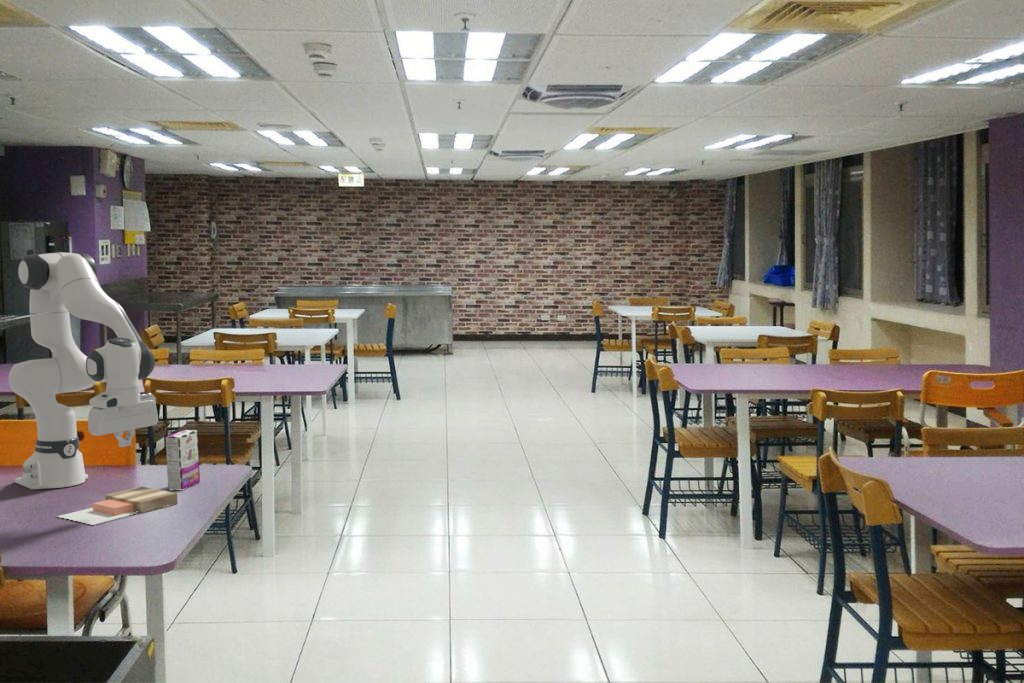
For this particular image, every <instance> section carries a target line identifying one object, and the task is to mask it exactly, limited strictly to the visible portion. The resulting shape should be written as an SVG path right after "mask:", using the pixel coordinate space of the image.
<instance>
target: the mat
mask: <svg viewBox="0 0 1024 683" xmlns="http://www.w3.org/2000/svg"><path fill="white" fill-rule="evenodd" d="M137 513H138V512H134V511H131V512H127V513H123V514H119V515H116V516H115V515H110V514H106V513H101V512H97V511H93V507H89V508H86V509H81V510H77V511H74V512H69V513H66V514H65V513H64V514H61V515H57V516H56V518H57V517H59V518H58V519H61V518H64V519H63V520H66V519H69V520H68V521H70V520H73V521H72V522H74V521H78V522H81V523H80V524H82V523H86V524H85V525H87V524H90V525H89V526H91V525H94V526H97V525H96V524H98V525H101V524H100V523H102V524H105V523H104V522H106V523H109V522H108V521H110V522H112V521H111V520H113V521H116V520H115V519H117V520H119V519H118V518H121V517H125V516H129V515H133V514H136V515H138V514H137ZM133 516H134V515H133ZM129 517H130V516H129ZM125 518H126V517H125ZM121 519H122V518H121ZM78 522H77V523H78Z"/></svg>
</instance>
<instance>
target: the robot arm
mask: <svg viewBox="0 0 1024 683" xmlns="http://www.w3.org/2000/svg"><path fill="white" fill-rule="evenodd" d="M17 271H18V272H17V274H18V279H19V281H20V284H21V285H22V286H23V287H24V288H26V289H28V290H30V291H29V303H28V304H29V308H28V309H29V319H30V320H29V322H30V334H31V338H32V340H33V341H34V342H35V343H36V344H38V345H39V346H42V347H44V348H47V349H49V350H50V352H51V354H52V357H49V358H40V359H29V360H25V361H22V362H18V363H14V364H13V366H12V367H11V368H10V371H9V373H8V384H9V387H10V388H11V390H12V391H13V393H15V394H16V395H18V396H19V397H21V398H22V399H23V400H25V401H26V402H27V403H28V405H29V406H30V408H31V409H32V412H33V413H34V416H35V420H36V428H37V429H36V430H37V440H33V442H34V443H33V445H35V448H34V452H33V453H32V455H30V456H29V458H27V459H26V460H25V461H24V463H23V465H22V468H21V469H22V476H20V477H17V478H15V479H14V483H16V484H18V485H20V486H22V487H25V488H27V489H29V490H42V489H43V490H44V489H59V488H68V487H74V486H77V485H78V486H79V485H81V484H82V483H85V481H86V480H87V479H89V474H87V473H86V471H85V465H84V458H83V453H82V452H81V451H80V450H79V448H80V440H79V436H78V431H77V415H76V413H75V410H74V409H72V408H71V407H70V406H68V405H65V404H62V403H59V402H58V401H57V399H56V395H57V394H64V393H73V392H74V393H75V392H80V391H83V390H87V389H90V388H92V387H94V386H95V384H96V383H106V386H105V390H104V391H103V392H101V393H99V394H97V395H96V396H94V397H92V398H90V399H89V401H88V402H89V406H90V407H91V408H89V411H88V416H87V418H88V419H87V423H88V424H87V428H88V429H87V430H88V432H89V433H90V434H91V435H92V436H96V437H98V436H106V435H110V434H113V435H114V437H115V438H116V440H117V441H118V447H119V448H125V447H129V446H132V439H133V438H134V435H135V433H136V432H135V430H136V429H142V428H148V427H151V426H152V427H153V426H156V425H157V424H158V422H159V414H158V409H157V405H156V404H157V399H156V396H155V395H154V394H152V393H151V392H149V393H148V392H147V393H142V394H141V385H140V381H143V380H146V379H147V378H148V377H149V376H150V375H151V374H152V372H153V371H154V369H155V366H156V365H155V364H156V361H155V357H154V354H153V352H152V350H151V349H150V348H149V347H148V346H147V344H146V343H145V342H144V341H143V339H142V338H141V336H140V334H139V333H138V331H137V328H135V326H134V325H133V322H132V321H131V319H130V318H129V317H128V314H127V313H126V311H125V310H124V308H123V307H122V306H121V304H120V303H119V302H117V301H116V300H114V299H113V298H111V297H110V296H109V295H108V294H107V293H106V292H105V291H104V290H103V288H102V287H101V285H100V282H99V280H98V278H97V272H98V267H97V263H96V261H95V260H94V258H93V257H92V256H91V255H90V254H87V253H83V252H77V253H74V252H62V251H61V252H60V251H59V252H57V251H56V252H52V253H51V252H50V253H48V252H47V253H40V254H37V253H32V254H28V255H25V256H23V257H22V258H21V260H20V261H19V264H18V270H17ZM70 314H71V315H72V316H74V317H76V318H78V319H81V320H85V321H90V322H95V323H98V324H101V325H105V326H107V327H109V328H110V329H111V330H112V331H113V332H114V333H115V335H116V336H117V337H114V338H110V339H108V340H107V341H106V342H105V345H104V346H102V347H101V346H100V347H99V348H96V349H93V350H92V351H90V352H89V353H88V356H87V355H86V354H84V353H83V352H82V351H81V350H80V348H79V346H78V345H77V344H76V343H75V342H76V341H75V340H74V337H73V333H72V326H71V318H70ZM124 432H125V433H126V436H125V438H123V435H124Z"/></svg>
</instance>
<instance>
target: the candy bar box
mask: <svg viewBox="0 0 1024 683" xmlns="http://www.w3.org/2000/svg"><path fill="white" fill-rule="evenodd" d="M164 440H165V454H166V471H167V488H169V489H184V488H186V487H189V486H191V485H193V484H195V485H197V484H199V483H200V482H201V475H200V459H199V458H200V457H199V439H198V430H197V429H196V430H195V429H184V430H181V431H178V432H175V433H173V434H169V435H168V436H165V437H164ZM198 482H199V483H198ZM196 483H197V484H196ZM193 486H194V485H193ZM191 487H192V486H191ZM189 488H190V487H189ZM169 489H168V490H169ZM184 490H185V489H184Z"/></svg>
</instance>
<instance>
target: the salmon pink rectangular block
mask: <svg viewBox="0 0 1024 683" xmlns="http://www.w3.org/2000/svg"><path fill="white" fill-rule="evenodd" d="M92 508H93V511H97V512H101V513H106V514H110V515H115V516H116V515H119V514H123V513H127V512H131V511H132V512H134V504H133V503H129V502H124V501H119V500H114V499H109V500H101V501H97V502H93V503H92Z"/></svg>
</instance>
